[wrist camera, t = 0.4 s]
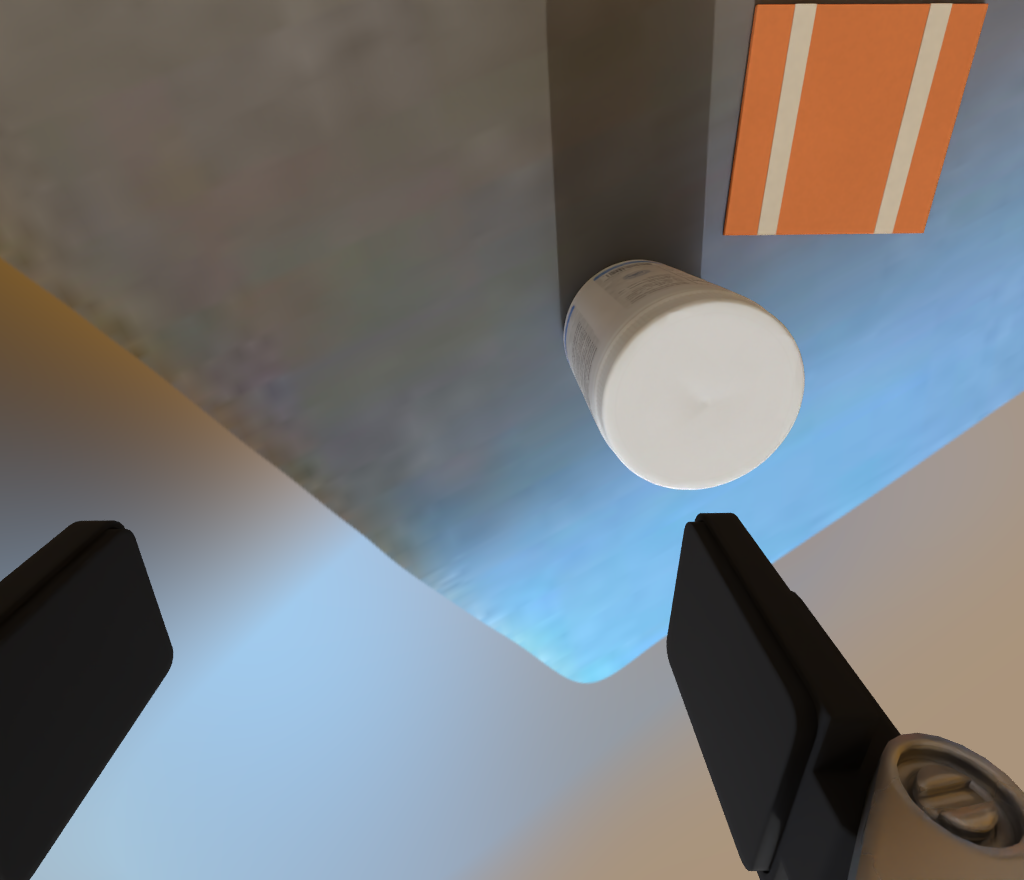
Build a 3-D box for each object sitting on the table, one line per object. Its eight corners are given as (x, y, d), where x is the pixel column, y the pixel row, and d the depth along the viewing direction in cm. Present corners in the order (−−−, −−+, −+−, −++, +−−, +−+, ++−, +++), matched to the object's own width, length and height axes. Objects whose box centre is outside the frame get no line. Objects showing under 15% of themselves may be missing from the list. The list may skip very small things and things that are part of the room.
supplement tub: (642, 416, 41) (712, 528, 28) (534, 351, 39) (555, 439, 26) (728, 303, 38) (856, 370, 25) (616, 225, 36) (689, 251, 22)
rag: (755, 5, 31) (758, 3, 31) (984, 5, 31) (989, 3, 31) (722, 234, 36) (724, 235, 36) (920, 232, 36) (924, 233, 36)
